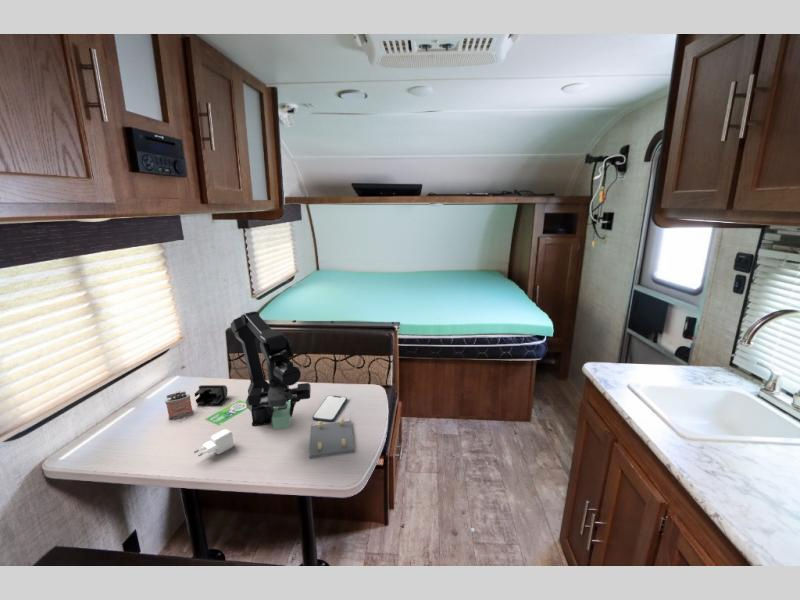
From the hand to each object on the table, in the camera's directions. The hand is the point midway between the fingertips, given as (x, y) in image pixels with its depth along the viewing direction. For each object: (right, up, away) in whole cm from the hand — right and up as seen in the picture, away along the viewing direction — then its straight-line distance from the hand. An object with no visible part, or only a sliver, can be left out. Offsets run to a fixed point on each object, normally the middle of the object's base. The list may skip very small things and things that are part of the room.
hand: (282, 417), depth 118 cm
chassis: (+15, -9, +6) cm, 19 cm away
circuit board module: (0, -1, 0) cm, 1 cm away
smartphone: (+11, -5, +24) cm, 27 cm away
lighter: (-45, -6, +21) cm, 50 cm away
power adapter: (-22, -12, 0) cm, 25 cm away
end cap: (-38, -4, +30) cm, 49 cm away
